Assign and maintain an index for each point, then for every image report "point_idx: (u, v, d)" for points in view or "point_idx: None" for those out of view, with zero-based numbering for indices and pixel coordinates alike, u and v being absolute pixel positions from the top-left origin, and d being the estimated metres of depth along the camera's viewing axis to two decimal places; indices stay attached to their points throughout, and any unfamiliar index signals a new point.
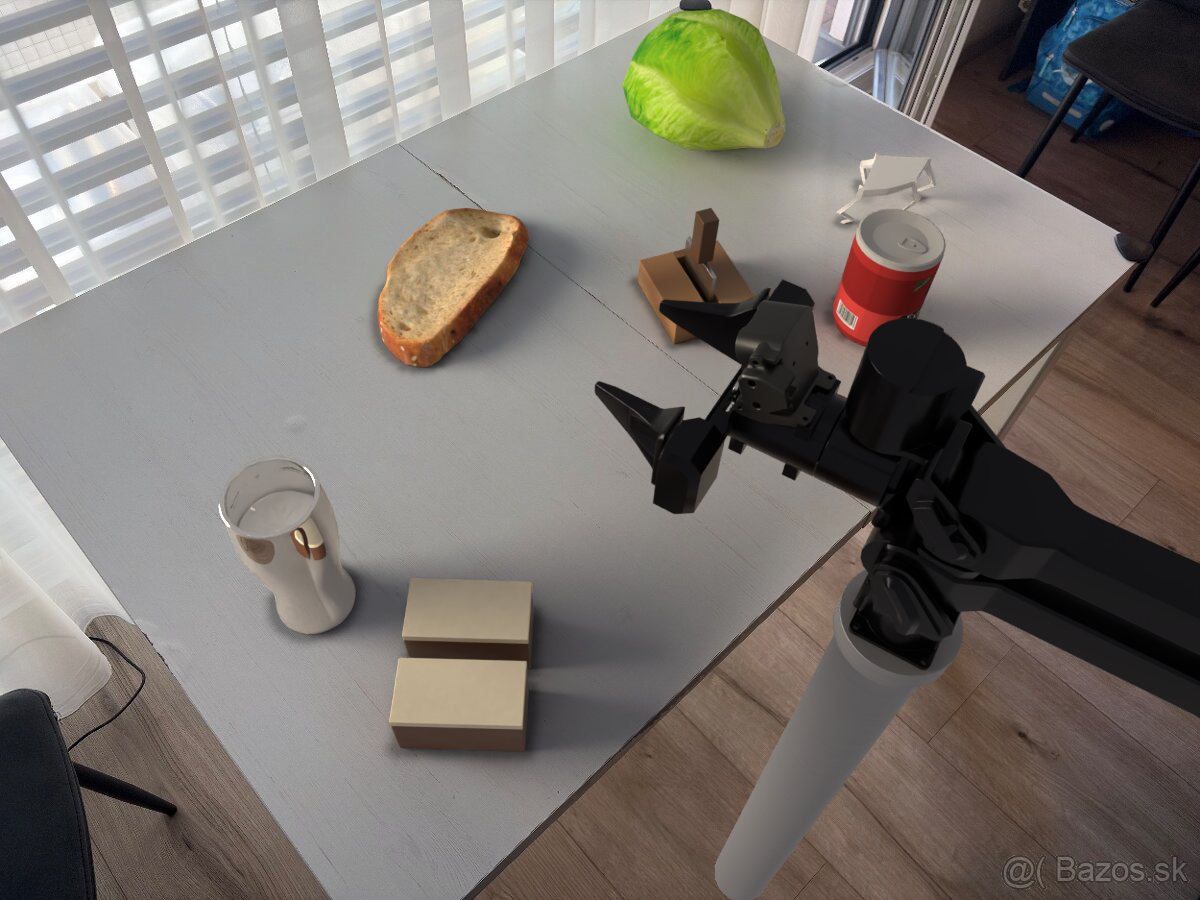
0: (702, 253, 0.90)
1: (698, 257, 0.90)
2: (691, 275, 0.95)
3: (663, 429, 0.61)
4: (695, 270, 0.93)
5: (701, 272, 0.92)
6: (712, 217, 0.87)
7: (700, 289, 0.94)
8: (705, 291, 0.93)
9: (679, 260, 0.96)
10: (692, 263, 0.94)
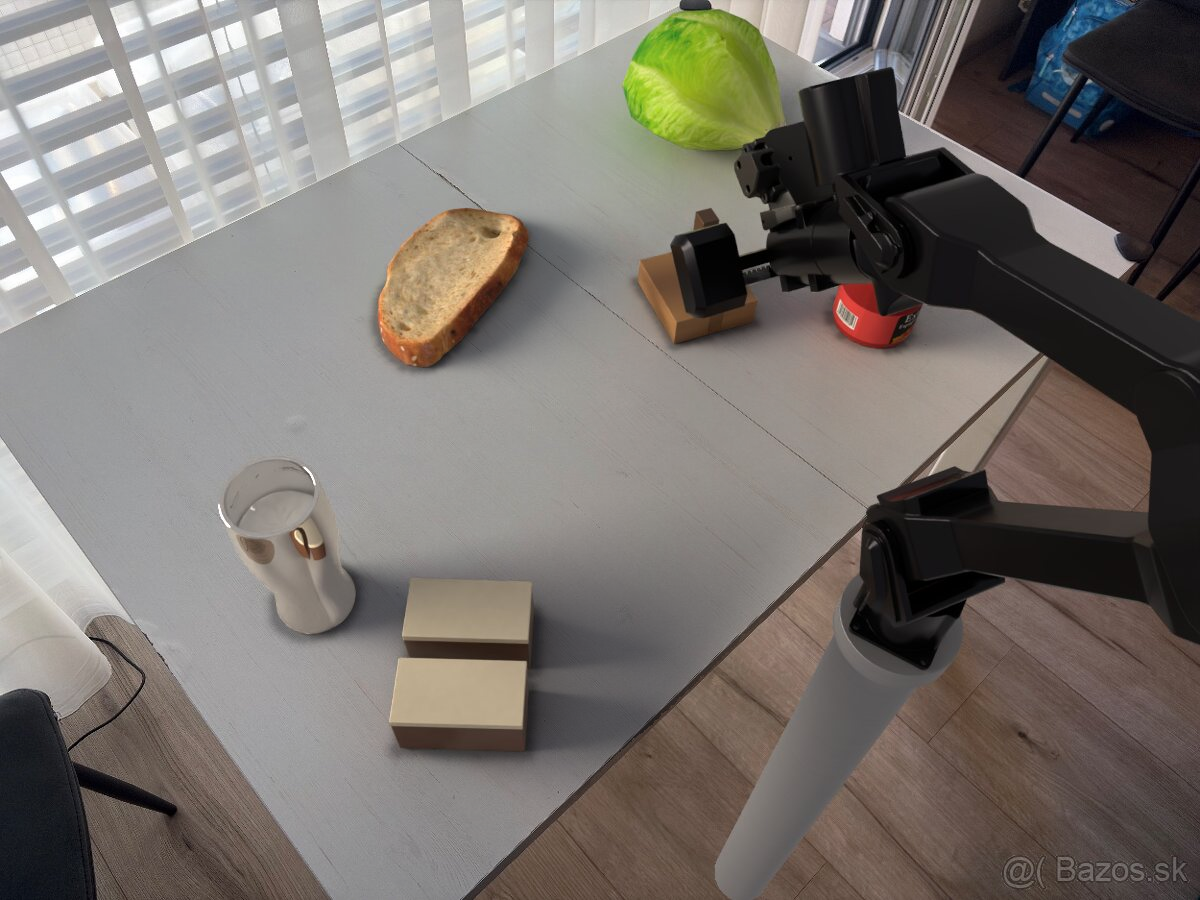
0: None
1: None
2: None
3: None
4: None
5: None
6: (712, 217, 0.87)
7: None
8: None
9: None
10: None
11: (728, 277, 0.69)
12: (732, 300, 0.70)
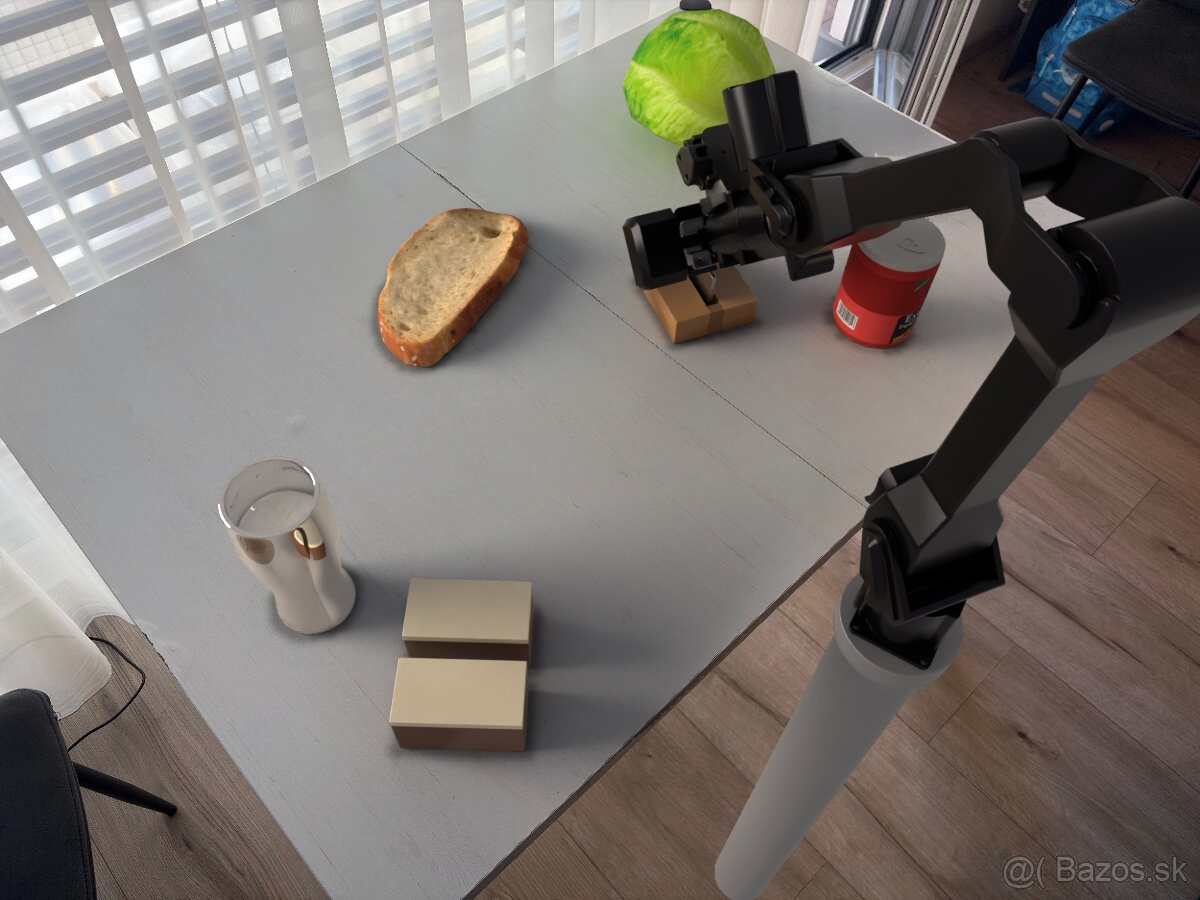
0: None
1: None
2: None
3: (678, 210, 0.84)
4: None
5: None
6: None
7: (700, 289, 0.94)
8: (705, 291, 0.93)
9: None
10: None
11: (671, 254, 0.80)
12: (675, 274, 0.81)
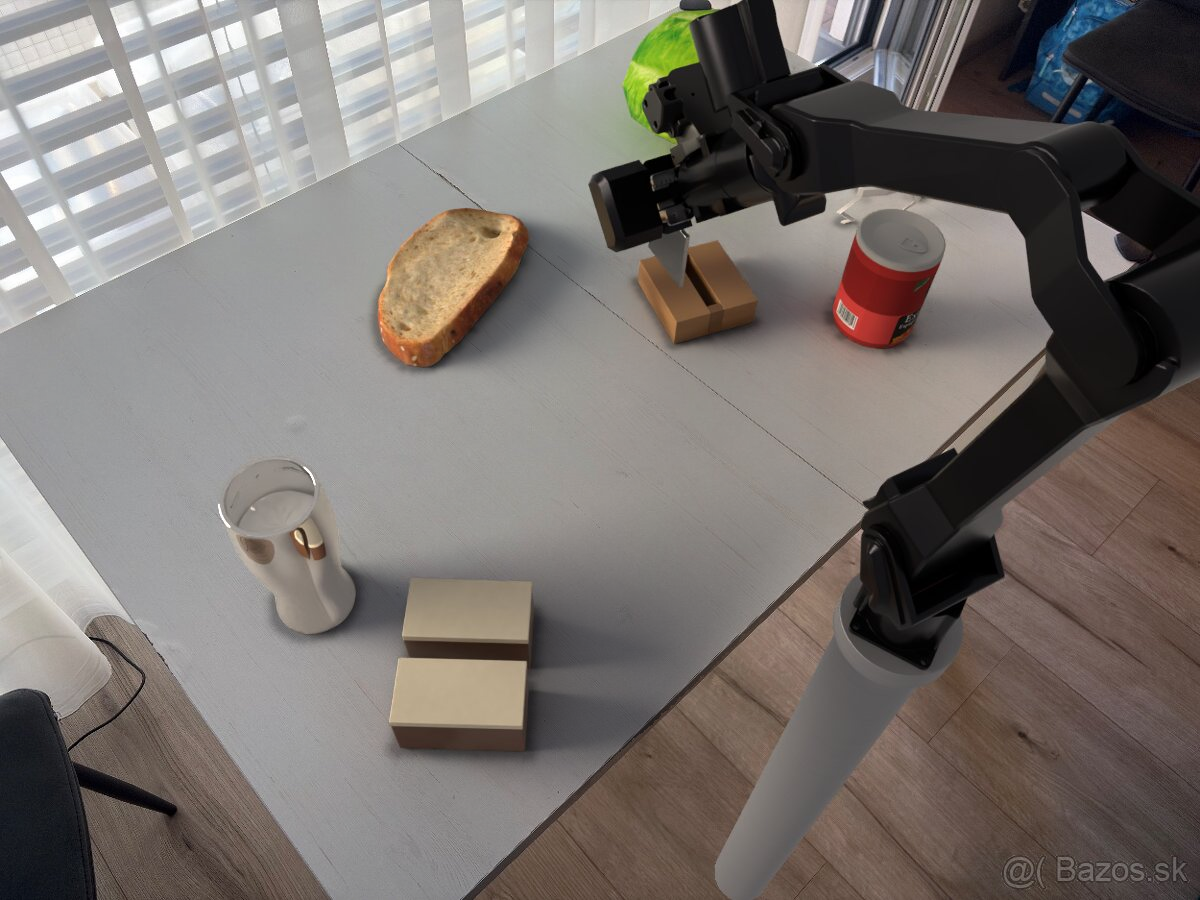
0: None
1: None
2: (660, 238, 0.88)
3: (647, 163, 0.77)
4: None
5: (672, 233, 0.86)
6: None
7: (671, 252, 0.87)
8: (677, 253, 0.86)
9: None
10: None
11: (643, 209, 0.74)
12: (649, 231, 0.74)
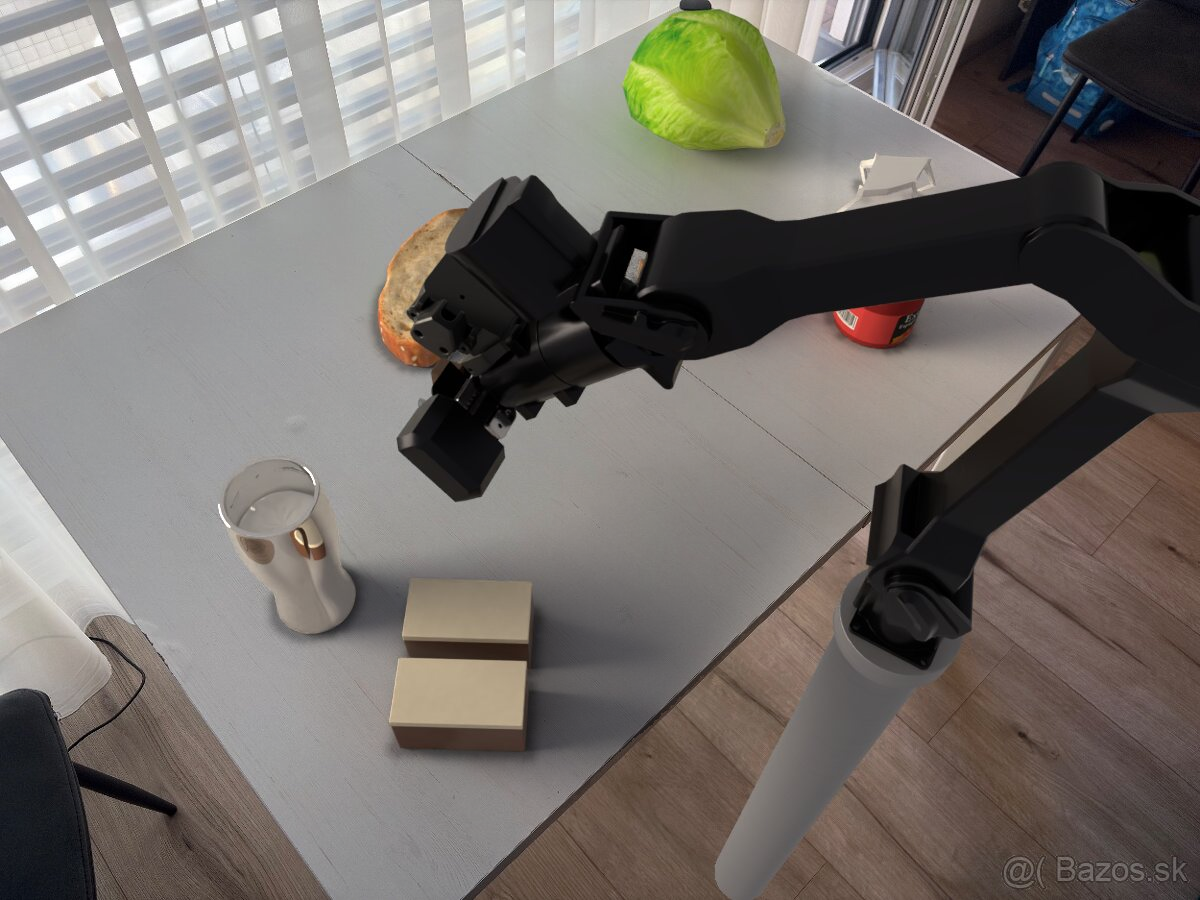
0: None
1: None
2: None
3: None
4: None
5: None
6: None
7: None
8: None
9: None
10: None
11: (479, 443, 0.61)
12: (495, 461, 0.61)
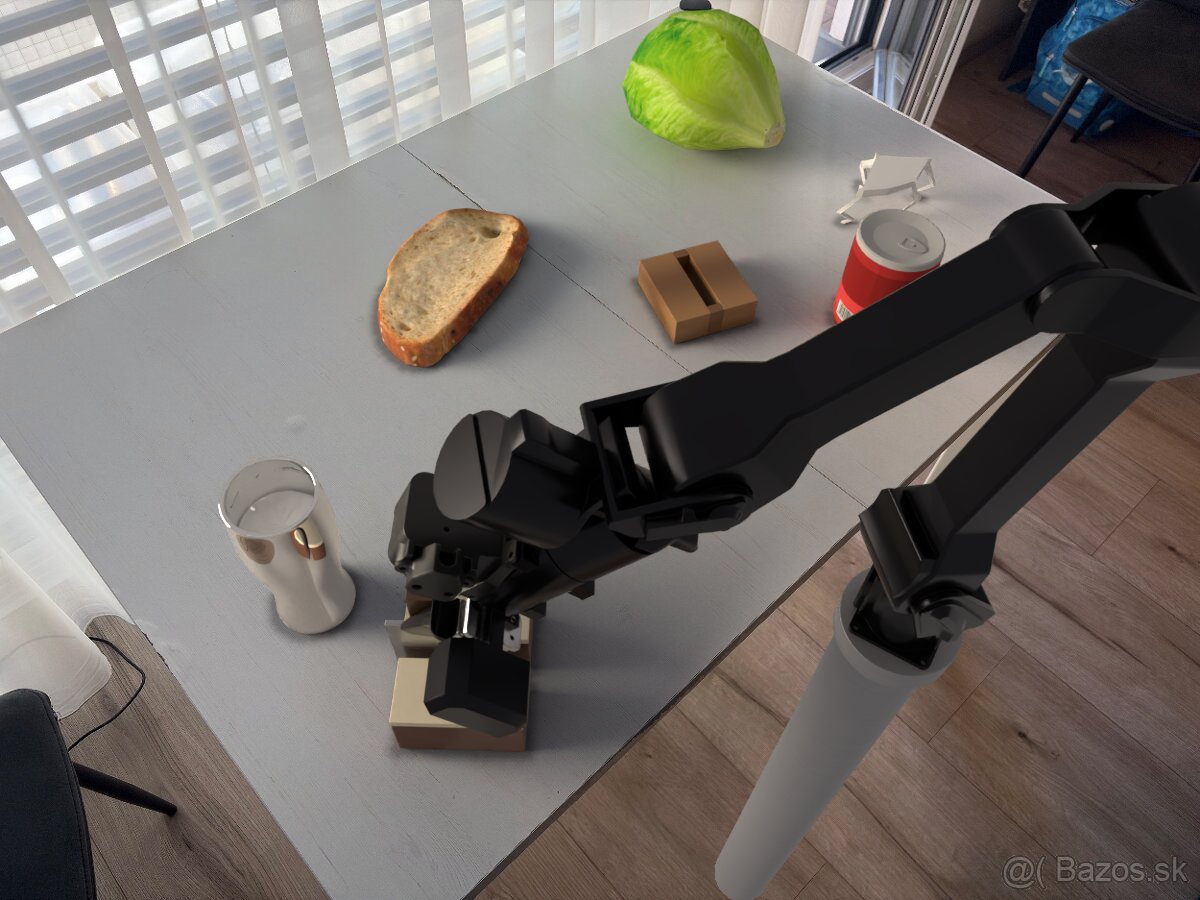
0: None
1: None
2: (420, 646, 0.68)
3: (429, 624, 0.57)
4: (427, 639, 0.67)
5: None
6: None
7: None
8: None
9: (679, 260, 0.96)
10: (415, 637, 0.67)
11: (509, 672, 0.55)
12: (528, 682, 0.56)
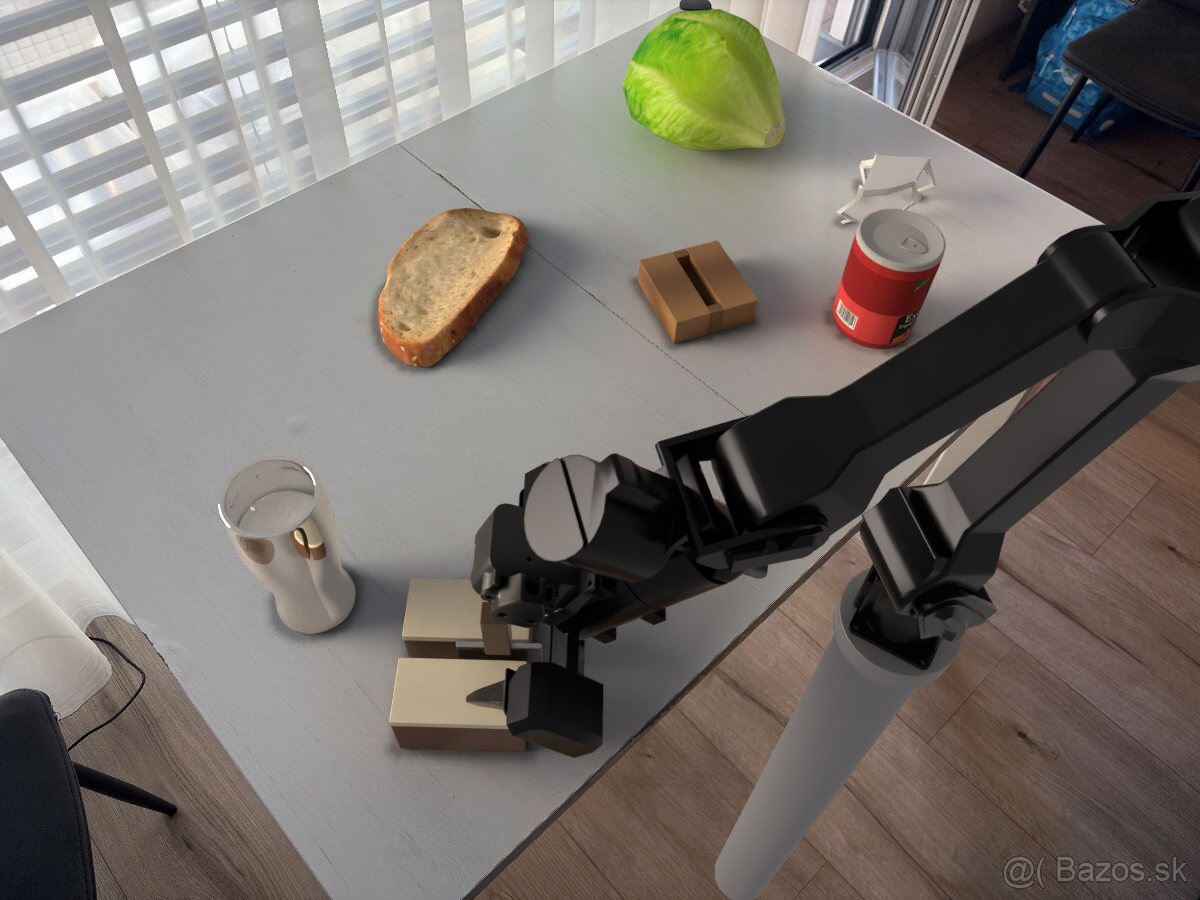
0: (510, 643, 0.67)
1: (508, 650, 0.67)
2: None
3: (502, 704, 0.57)
4: (494, 659, 0.69)
5: (510, 655, 0.69)
6: None
7: None
8: None
9: (679, 260, 0.96)
10: (484, 657, 0.69)
11: (585, 695, 0.58)
12: None
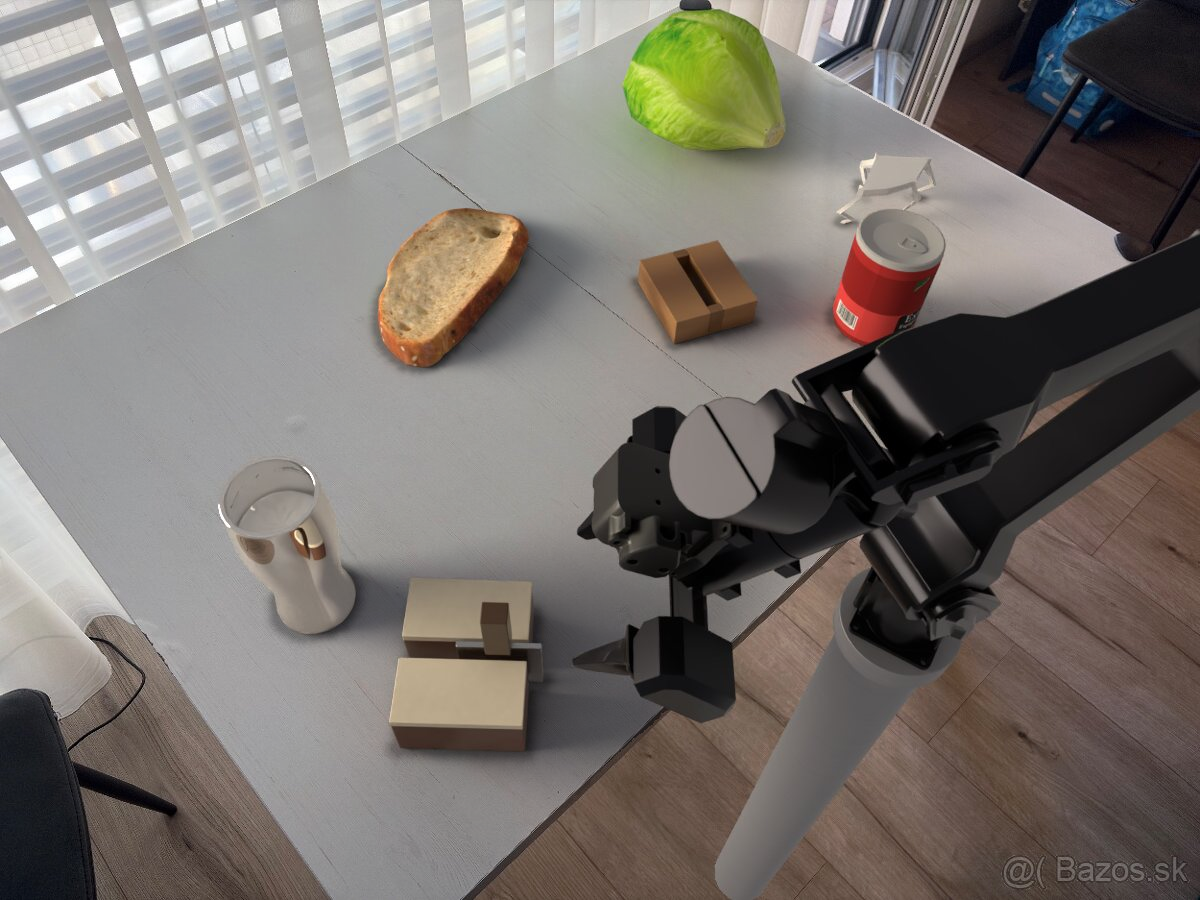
0: (510, 643, 0.66)
1: (508, 650, 0.67)
2: None
3: (626, 663, 0.52)
4: (494, 659, 0.69)
5: (510, 655, 0.69)
6: (501, 608, 0.64)
7: None
8: (528, 663, 0.70)
9: (679, 260, 0.96)
10: (484, 657, 0.69)
11: (716, 653, 0.53)
12: None
